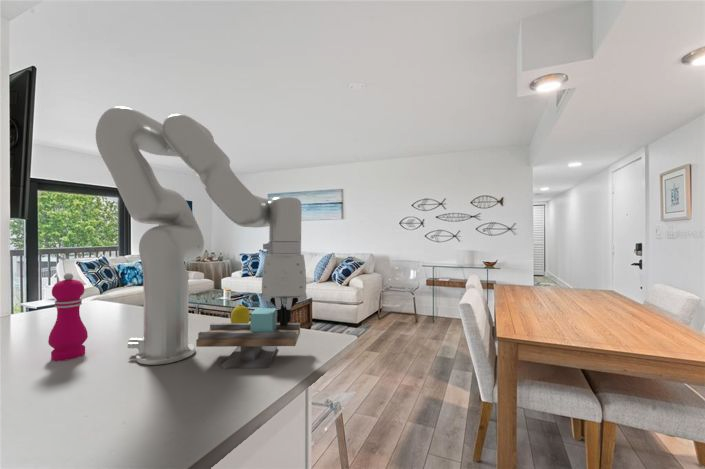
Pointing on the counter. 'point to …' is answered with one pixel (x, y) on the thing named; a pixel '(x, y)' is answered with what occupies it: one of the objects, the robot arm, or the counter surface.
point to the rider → (263, 320)
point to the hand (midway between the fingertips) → (284, 324)
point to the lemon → (240, 315)
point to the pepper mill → (68, 320)
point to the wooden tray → (248, 342)
